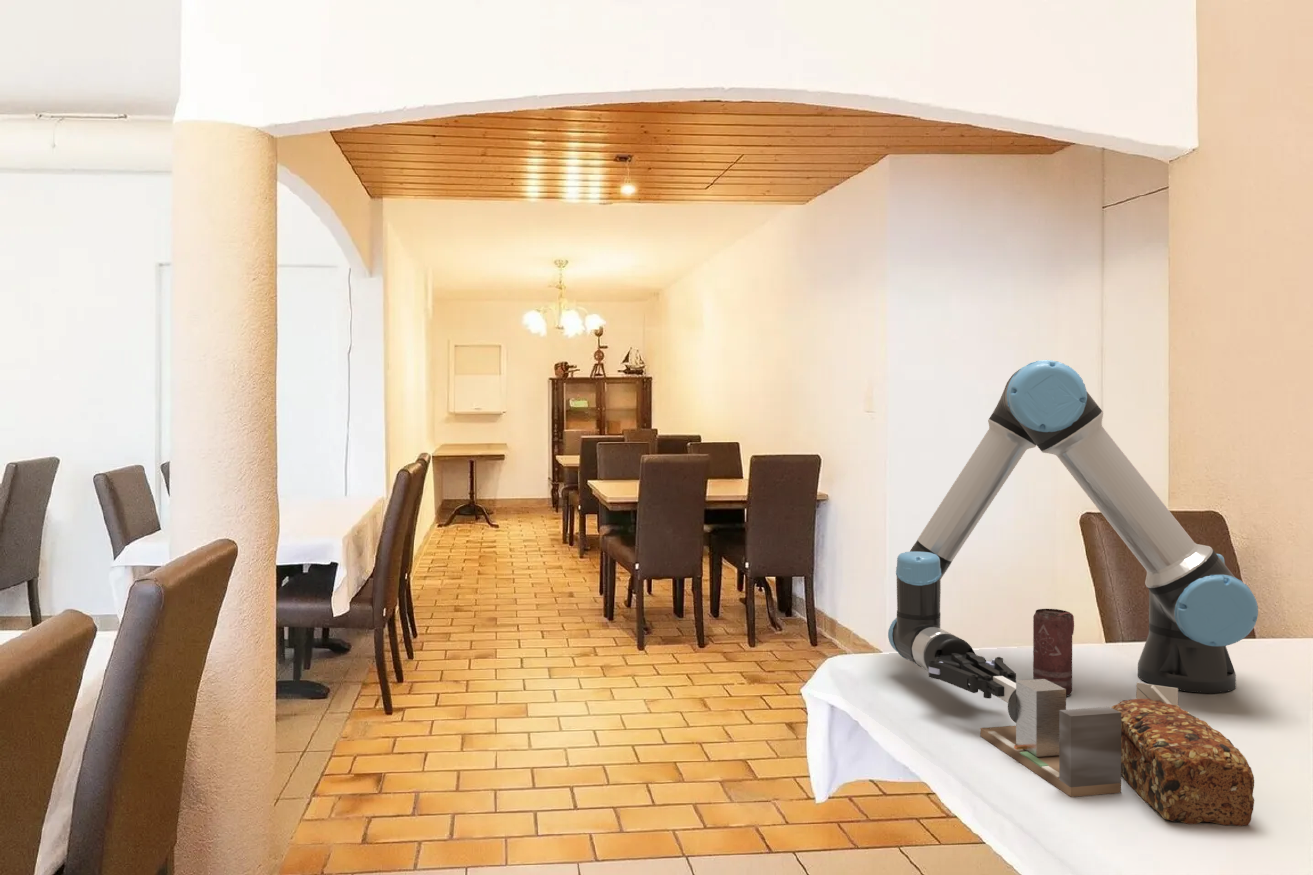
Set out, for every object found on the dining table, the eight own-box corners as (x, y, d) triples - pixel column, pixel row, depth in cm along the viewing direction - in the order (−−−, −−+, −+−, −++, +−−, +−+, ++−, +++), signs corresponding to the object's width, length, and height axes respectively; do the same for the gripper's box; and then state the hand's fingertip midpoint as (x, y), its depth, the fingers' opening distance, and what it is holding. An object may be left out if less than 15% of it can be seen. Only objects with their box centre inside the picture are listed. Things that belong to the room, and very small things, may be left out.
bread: (1104, 764, 126) (1105, 692, 126) (1187, 767, 124) (1188, 694, 124) (1161, 825, 107) (1161, 741, 107) (1259, 830, 106) (1259, 744, 106)
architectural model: (1177, 744, 134) (1177, 694, 134) (1124, 735, 138) (1124, 686, 138) (1179, 737, 137) (1179, 688, 136) (1127, 729, 141) (1127, 681, 140)
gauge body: (980, 735, 137) (980, 668, 137) (1023, 732, 138) (1023, 665, 138) (1070, 796, 115) (1070, 716, 115) (1121, 792, 116) (1121, 712, 116)
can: (1077, 698, 154) (1077, 615, 153) (1037, 696, 155) (1037, 614, 155) (1069, 688, 160) (1069, 608, 159) (1030, 686, 161) (1030, 607, 161)
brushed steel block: (1002, 742, 130) (1002, 679, 130) (1046, 739, 131) (1046, 676, 131) (1025, 757, 124) (1025, 691, 124) (1071, 754, 126) (1071, 688, 125)
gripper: (980, 675, 155) (1063, 721, 132) (907, 679, 153) (979, 727, 130) (980, 631, 155) (1063, 669, 132) (907, 634, 153) (979, 674, 130)
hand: (1021, 698), depth 131 cm, fingers closed
